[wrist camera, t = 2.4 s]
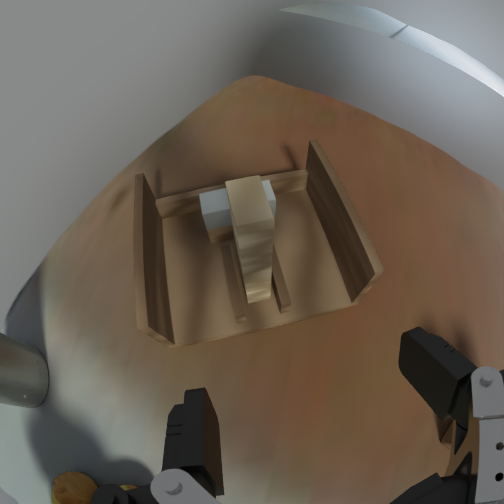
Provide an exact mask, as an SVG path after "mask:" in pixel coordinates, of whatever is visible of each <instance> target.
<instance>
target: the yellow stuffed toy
mask: <svg viewBox="0 0 504 504" xmlns="http://www.w3.org/2000/svg"><path fill="white" fill-rule="evenodd" d="M53 484H54V486H53V489H52V504H91V498H92V495H93V493H94V492H95V491H96V490H97V489H98V488H99V487H98V486H97V485H96V483H95V482H94V481H93V479H91V478H90V477H89V476H87V475H85V474H82V473H79V472H65V473H64V474H63V475H60V476H58V477H56V478H55V479H54V482H53ZM120 487H121V488H123V489H124V490H125V491H126V490H130V489H134V488H138V487H136V486H133V485H129V484H128V485H122V486H120Z"/></svg>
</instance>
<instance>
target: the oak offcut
mask: <svg viewBox="0 0 504 504" xmlns="http://www.w3.org/2000/svg"><path fill="white" fill-rule="evenodd" d="M273 217H274V230H275V216H273ZM207 232H208V235H209V238H210V241H211V244H212V243H216V242H221V241H226V240H230V239H235V237H234V231H233V225H229V226H224V227H219V228H215V229H210V230H207Z"/></svg>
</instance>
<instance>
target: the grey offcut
mask: <svg viewBox="0 0 504 504" xmlns="http://www.w3.org/2000/svg"><path fill="white" fill-rule="evenodd" d="M262 184H263V187H264V190H265V193H266V196H267V199H268V202H269V205H270V208H271V211H272V214H273V216H275V212H276V198H275V195H274V192H273V190H272V187H271V184H270V181H269V180H265V181H262ZM199 197H200V203H201V210H202V216H203V219H204V222H205V225H206V229H207V230H210V229H215V228H219V227H224V226H229V225H232V219H231V213H230V207H229V201H228V196H227V190H226V188H224V189H219V190H214V191H210V192H205V193H201V194H199Z"/></svg>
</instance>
